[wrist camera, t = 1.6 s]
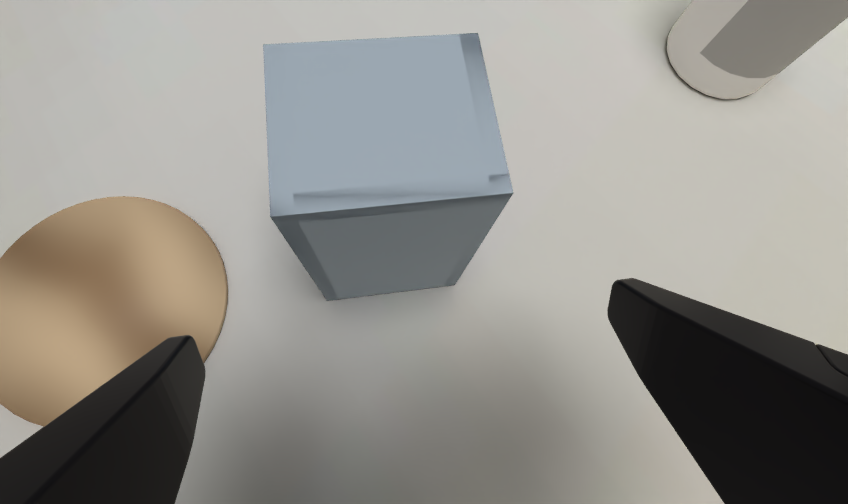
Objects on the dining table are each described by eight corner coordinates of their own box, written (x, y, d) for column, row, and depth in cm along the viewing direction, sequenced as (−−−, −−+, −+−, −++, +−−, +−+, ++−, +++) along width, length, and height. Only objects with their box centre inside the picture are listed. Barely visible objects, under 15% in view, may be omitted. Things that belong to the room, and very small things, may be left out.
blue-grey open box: (454, 285, 22) (513, 192, 12) (327, 300, 22) (270, 217, 11) (438, 188, 24) (478, 33, 14) (319, 200, 23) (263, 44, 13)
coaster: (149, 468, 19) (144, 469, 18) (-77, 374, 19) (-86, 373, 19) (267, 245, 22) (265, 243, 22) (74, 169, 23) (69, 166, 22)
